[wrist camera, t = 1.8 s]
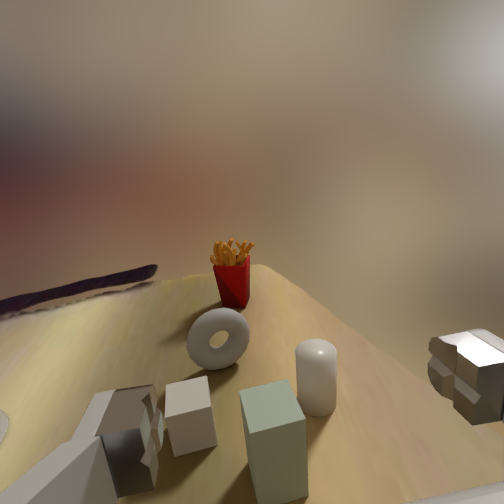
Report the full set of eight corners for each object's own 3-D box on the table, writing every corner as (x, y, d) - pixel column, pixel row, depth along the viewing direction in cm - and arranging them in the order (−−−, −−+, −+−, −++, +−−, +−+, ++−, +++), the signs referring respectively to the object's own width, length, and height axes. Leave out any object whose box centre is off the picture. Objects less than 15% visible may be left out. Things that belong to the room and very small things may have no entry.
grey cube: (174, 457, 36) (164, 417, 34) (174, 421, 40) (166, 384, 38) (217, 445, 37) (210, 406, 35) (213, 411, 41) (206, 375, 39)
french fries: (225, 294, 72) (217, 232, 67) (261, 295, 70) (255, 231, 65) (214, 315, 64) (204, 246, 59) (254, 316, 62) (247, 245, 57)
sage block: (259, 511, 30) (249, 433, 26) (248, 462, 34) (239, 390, 31) (308, 495, 31) (305, 418, 27) (291, 449, 35) (287, 378, 32)
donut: (247, 349, 53) (241, 296, 49) (256, 361, 50) (250, 305, 46) (189, 370, 49) (179, 314, 46) (195, 384, 46) (184, 326, 43)
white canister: (306, 421, 39) (304, 368, 36) (292, 391, 43) (289, 343, 40) (343, 411, 39) (344, 359, 37) (325, 383, 44) (325, 335, 41)
